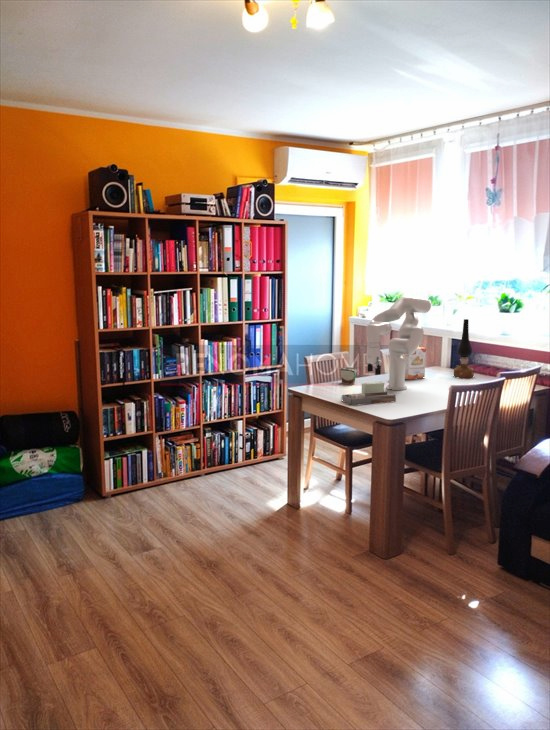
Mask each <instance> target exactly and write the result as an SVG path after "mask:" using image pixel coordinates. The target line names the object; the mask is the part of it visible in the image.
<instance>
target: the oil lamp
mask: <svg viewBox="0 0 550 730" xmlns="http://www.w3.org/2000/svg"><path fill="white" fill-rule="evenodd" d="M469 330H470V329H469V319H465V318H464V319H463V325H462V335H461V339H460V342H459V344H458V348H457V350H456V351H457V353H458V355H459V357H460V358H459V360H460V365H455V368H453V375H454V376H455V377H454V376H453V377H454V378H456V377H459V378H458V379H473V378H472V377H473V376H474V374H475V369H474V368H472V367H470V366H468V362H469V360H470V359H469V356H471V355H472V352H473V350H472V346H471V345H472V344H471V343H470V336H469V334H470V333H469ZM474 377H475V376H474Z"/></svg>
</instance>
